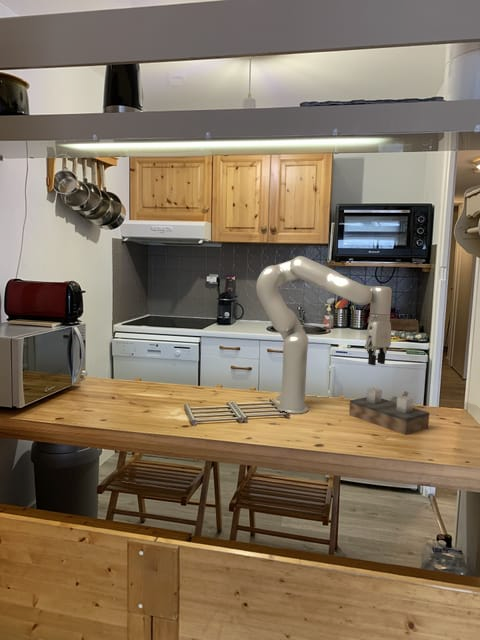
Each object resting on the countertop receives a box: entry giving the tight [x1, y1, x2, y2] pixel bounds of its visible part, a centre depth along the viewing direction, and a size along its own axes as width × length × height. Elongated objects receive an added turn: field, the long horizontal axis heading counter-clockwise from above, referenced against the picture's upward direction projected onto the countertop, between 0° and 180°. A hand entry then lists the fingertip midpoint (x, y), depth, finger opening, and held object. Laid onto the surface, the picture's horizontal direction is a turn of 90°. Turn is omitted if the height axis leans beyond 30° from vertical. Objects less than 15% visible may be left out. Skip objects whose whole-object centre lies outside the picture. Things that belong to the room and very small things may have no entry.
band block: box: [348, 396, 430, 436], centre depth 186 cm, size 26×14×6 cm, turn 36°
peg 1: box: [366, 387, 383, 404], centre depth 191 cm, size 4×4×6 cm
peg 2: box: [396, 395, 414, 414], centre depth 180 cm, size 4×4×6 cm
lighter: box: [389, 390, 410, 403], centre depth 203 cm, size 7×2×8 cm, turn 78°
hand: (376, 363), depth 190 cm, fingers open, 4 cm apart
